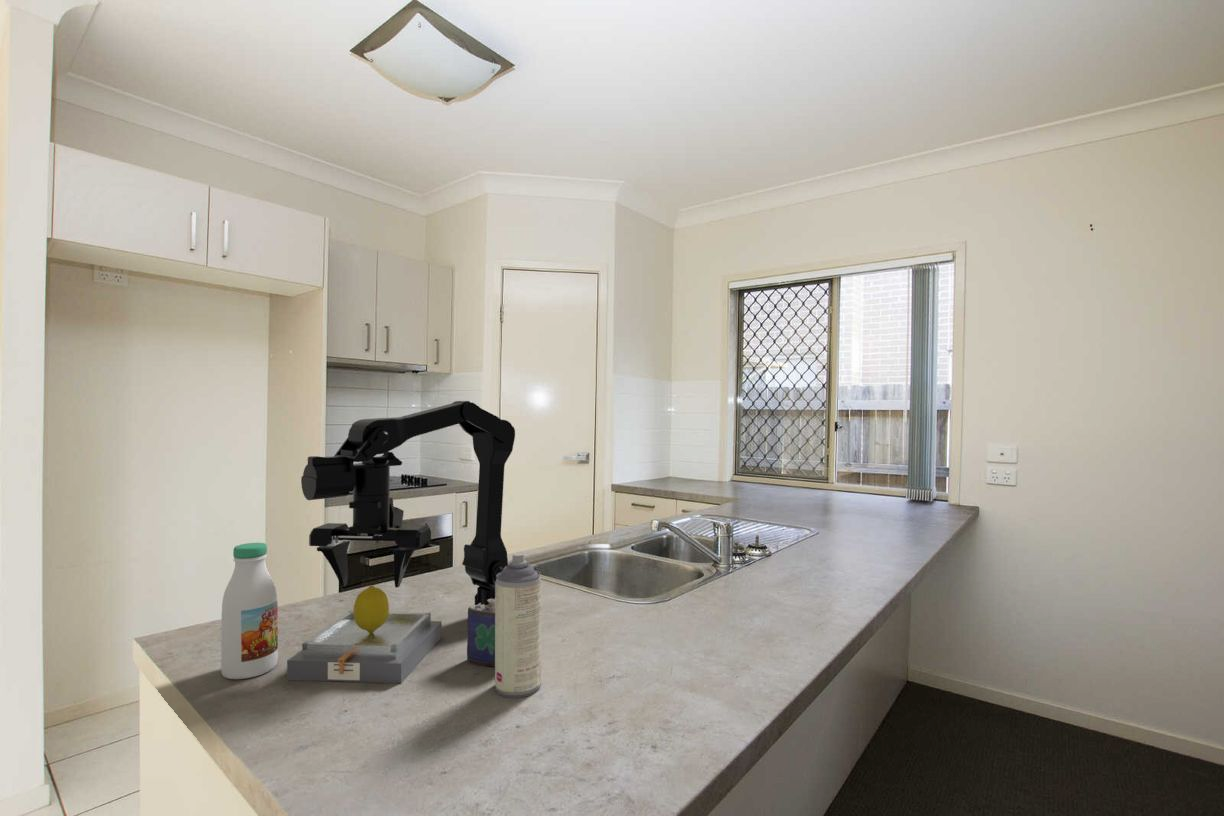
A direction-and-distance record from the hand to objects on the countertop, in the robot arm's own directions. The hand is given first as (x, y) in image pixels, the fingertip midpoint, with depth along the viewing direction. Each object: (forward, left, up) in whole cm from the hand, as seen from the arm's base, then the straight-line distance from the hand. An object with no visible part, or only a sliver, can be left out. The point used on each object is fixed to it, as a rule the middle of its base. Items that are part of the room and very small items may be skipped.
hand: (370, 586), depth 100 cm
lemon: (0, 0, -8) cm, 8 cm away
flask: (-21, +1, -12) cm, 24 cm away
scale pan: (0, +1, -10) cm, 10 cm away
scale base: (0, 0, -12) cm, 12 cm away
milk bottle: (+17, +6, -12) cm, 22 cm away
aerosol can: (-27, +9, -12) cm, 31 cm away
